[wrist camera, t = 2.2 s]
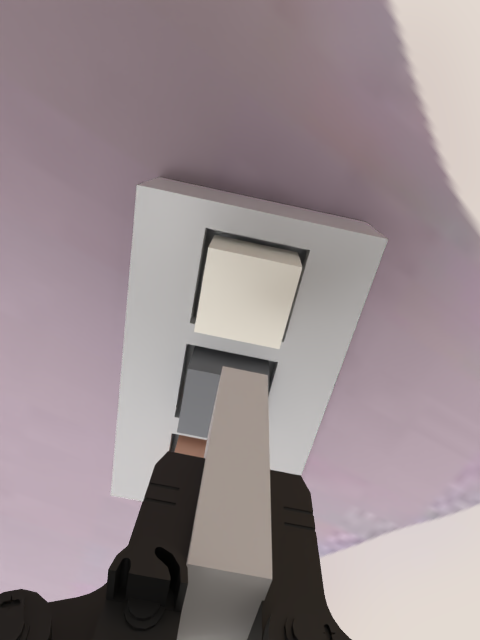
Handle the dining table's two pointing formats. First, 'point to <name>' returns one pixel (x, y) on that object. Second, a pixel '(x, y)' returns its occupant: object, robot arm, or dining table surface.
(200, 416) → the charcoal key
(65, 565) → the dining table surface
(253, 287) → the ivory key
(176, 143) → the dining table surface
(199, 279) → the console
